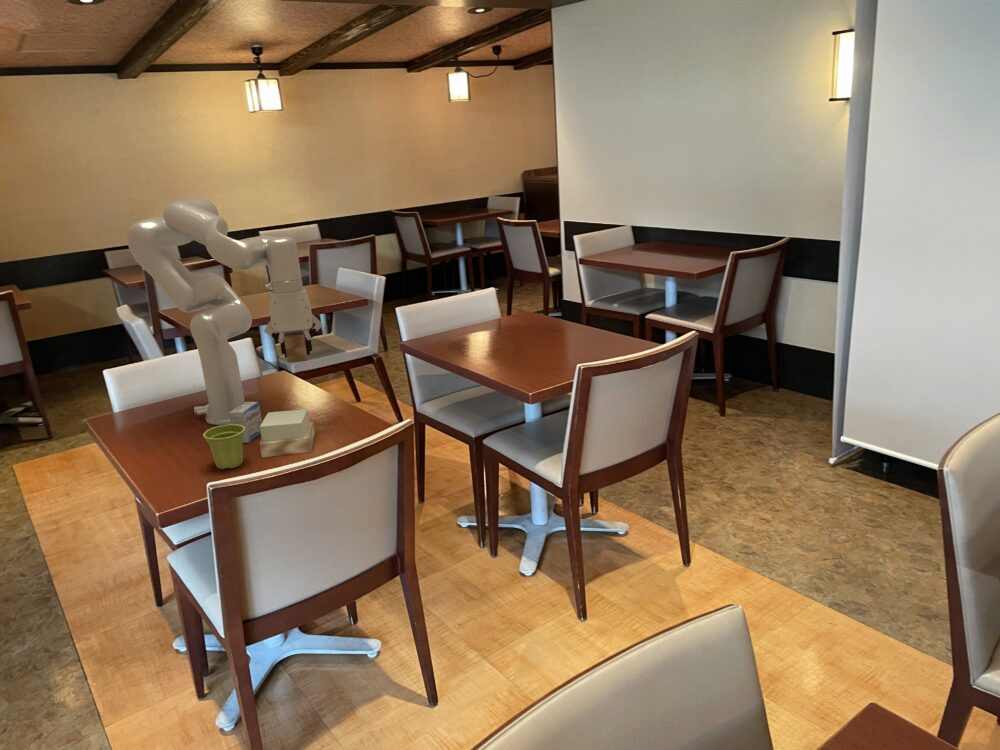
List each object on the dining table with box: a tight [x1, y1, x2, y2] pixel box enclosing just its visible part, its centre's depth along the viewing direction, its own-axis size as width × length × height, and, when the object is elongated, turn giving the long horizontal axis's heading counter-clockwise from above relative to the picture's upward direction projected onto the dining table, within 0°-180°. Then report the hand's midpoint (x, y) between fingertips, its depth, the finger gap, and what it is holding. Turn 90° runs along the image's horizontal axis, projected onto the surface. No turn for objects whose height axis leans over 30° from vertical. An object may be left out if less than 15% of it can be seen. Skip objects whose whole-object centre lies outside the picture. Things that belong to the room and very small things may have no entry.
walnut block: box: [284, 330, 310, 364], centre depth 195 cm, size 5×5×7 cm
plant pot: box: [202, 424, 245, 470], centre depth 180 cm, size 9×9×9 cm
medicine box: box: [229, 401, 263, 444], centre depth 196 cm, size 8×4×9 cm, turn 168°
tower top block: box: [260, 408, 310, 442], centre depth 189 cm, size 10×10×4 cm
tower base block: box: [259, 420, 316, 459], centre depth 190 cm, size 12×12×4 cm
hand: (297, 354), depth 195 cm, fingers closed on walnut block, 4 cm apart
